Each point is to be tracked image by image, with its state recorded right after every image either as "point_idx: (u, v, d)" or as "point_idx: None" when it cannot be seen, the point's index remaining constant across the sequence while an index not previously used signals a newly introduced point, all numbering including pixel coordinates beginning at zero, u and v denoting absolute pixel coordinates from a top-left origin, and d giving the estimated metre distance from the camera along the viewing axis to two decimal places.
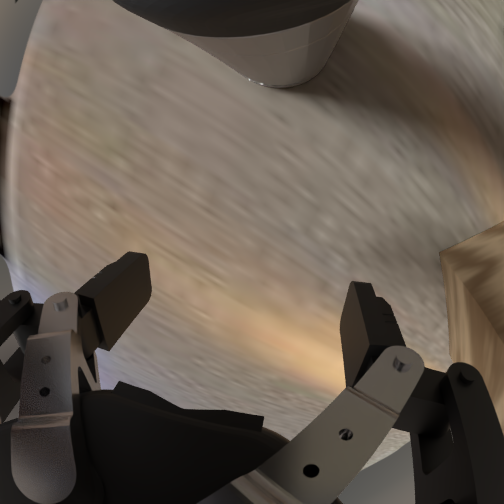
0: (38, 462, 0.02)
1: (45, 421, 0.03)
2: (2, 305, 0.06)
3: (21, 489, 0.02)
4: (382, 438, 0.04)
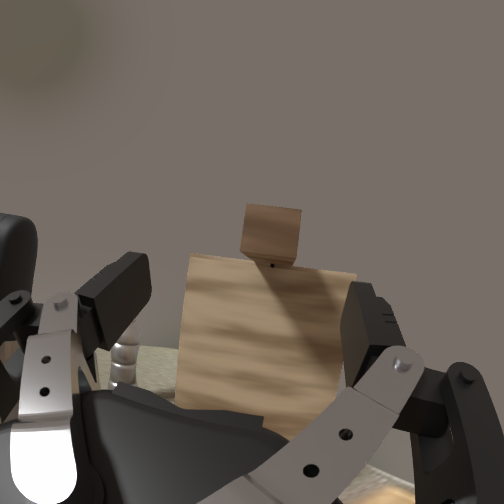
0: (38, 462, 0.02)
1: (45, 421, 0.03)
2: (2, 305, 0.06)
3: (21, 489, 0.02)
4: (382, 438, 0.04)
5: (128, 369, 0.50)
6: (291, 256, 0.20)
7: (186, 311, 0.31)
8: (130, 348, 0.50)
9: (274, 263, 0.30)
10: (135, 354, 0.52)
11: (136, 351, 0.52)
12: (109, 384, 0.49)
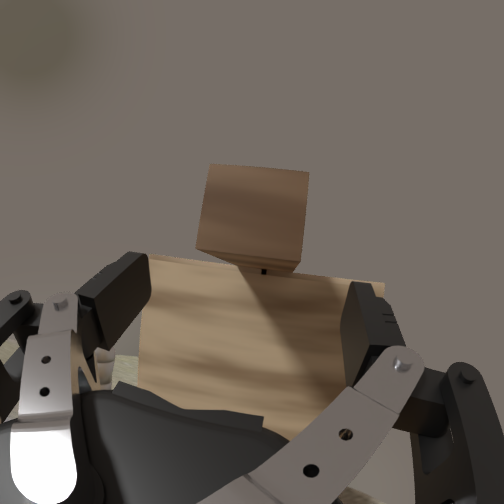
0: (38, 462, 0.02)
1: (45, 421, 0.03)
2: (2, 305, 0.06)
3: (21, 489, 0.02)
4: (382, 438, 0.04)
5: (102, 389, 0.40)
6: (291, 258, 0.11)
7: (145, 335, 0.21)
8: (102, 366, 0.41)
9: None
10: (109, 372, 0.42)
11: (110, 369, 0.42)
12: None
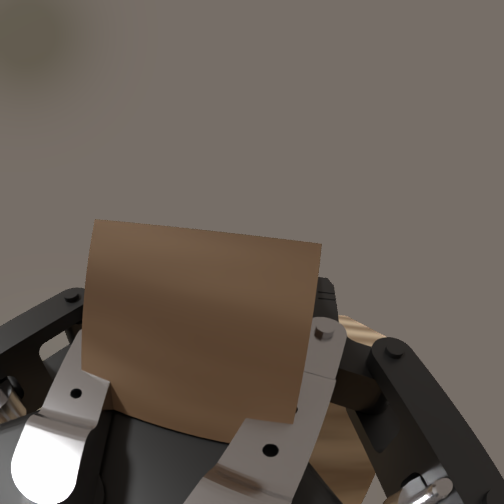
0: (38, 462, 0.02)
1: (64, 425, 0.03)
2: (56, 300, 0.07)
3: (21, 489, 0.02)
4: (327, 405, 0.04)
5: None
6: None
7: None
8: None
9: None
10: None
11: None
12: None
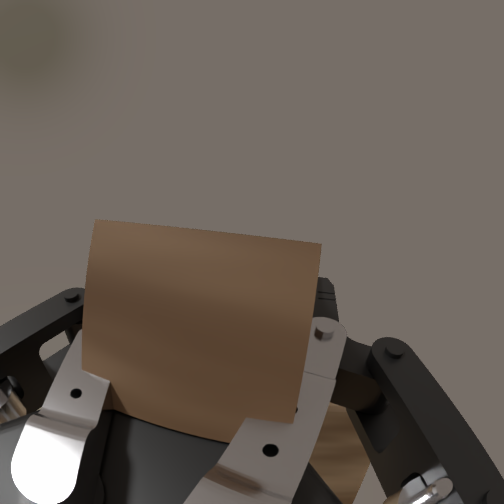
0: (38, 462, 0.02)
1: (64, 425, 0.03)
2: (56, 300, 0.07)
3: (21, 489, 0.02)
4: (326, 405, 0.04)
5: None
6: None
7: None
8: None
9: None
10: None
11: None
12: None
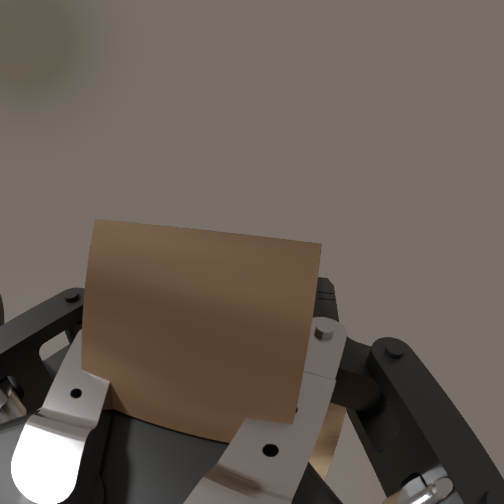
0: (38, 462, 0.02)
1: (64, 425, 0.03)
2: (56, 300, 0.07)
3: (21, 489, 0.02)
4: (326, 405, 0.04)
5: None
6: None
7: None
8: None
9: None
10: None
11: None
12: None
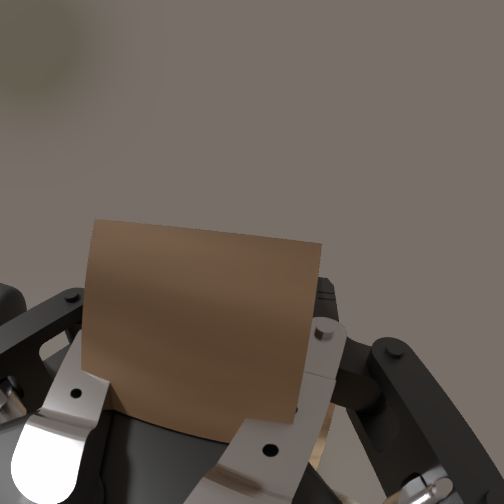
0: (38, 462, 0.02)
1: (64, 425, 0.03)
2: (56, 300, 0.07)
3: (21, 489, 0.02)
4: (326, 404, 0.04)
5: None
6: None
7: None
8: None
9: None
10: None
11: None
12: None
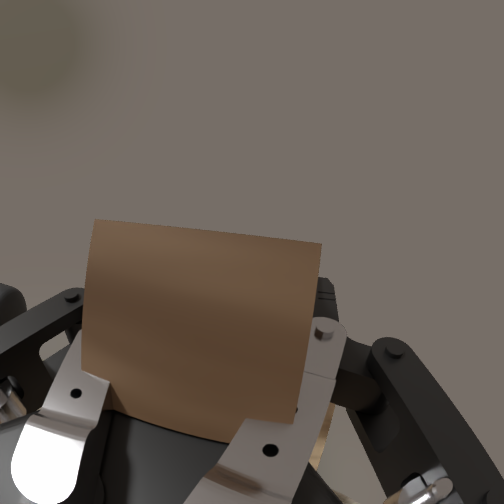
0: (38, 462, 0.02)
1: (64, 425, 0.03)
2: (56, 300, 0.07)
3: (21, 489, 0.02)
4: (326, 404, 0.04)
5: None
6: None
7: None
8: None
9: None
10: None
11: None
12: None
